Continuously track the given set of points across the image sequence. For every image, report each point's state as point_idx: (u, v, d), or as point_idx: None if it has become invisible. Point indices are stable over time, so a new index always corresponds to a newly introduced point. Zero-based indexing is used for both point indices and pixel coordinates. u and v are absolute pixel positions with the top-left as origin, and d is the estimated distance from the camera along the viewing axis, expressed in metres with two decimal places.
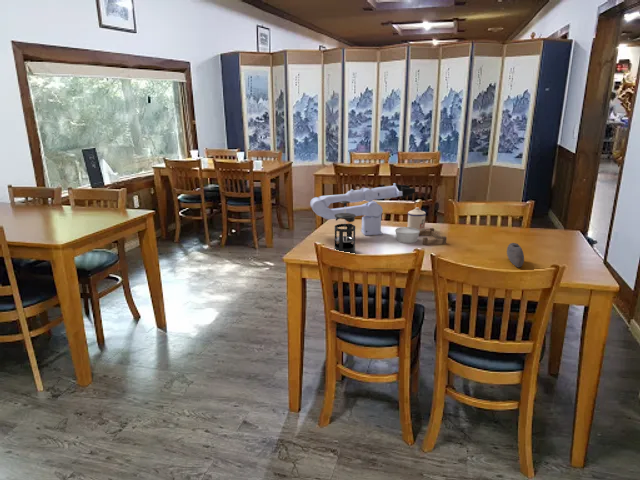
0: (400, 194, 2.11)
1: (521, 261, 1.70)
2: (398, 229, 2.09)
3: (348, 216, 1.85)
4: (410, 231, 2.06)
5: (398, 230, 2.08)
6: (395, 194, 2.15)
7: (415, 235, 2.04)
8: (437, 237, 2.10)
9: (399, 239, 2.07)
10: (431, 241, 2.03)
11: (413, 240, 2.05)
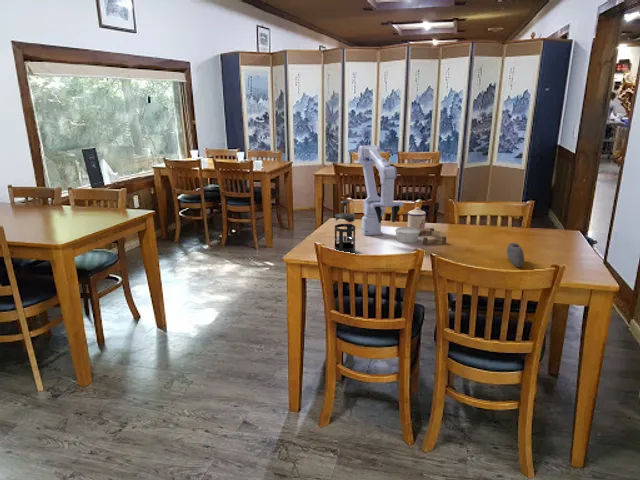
0: (371, 205, 2.03)
1: (521, 261, 1.70)
2: (398, 229, 2.09)
3: (348, 216, 1.85)
4: (410, 231, 2.06)
5: (398, 230, 2.08)
6: (380, 202, 2.04)
7: (415, 235, 2.04)
8: (437, 237, 2.10)
9: (399, 239, 2.07)
10: (431, 241, 2.03)
11: (413, 240, 2.05)
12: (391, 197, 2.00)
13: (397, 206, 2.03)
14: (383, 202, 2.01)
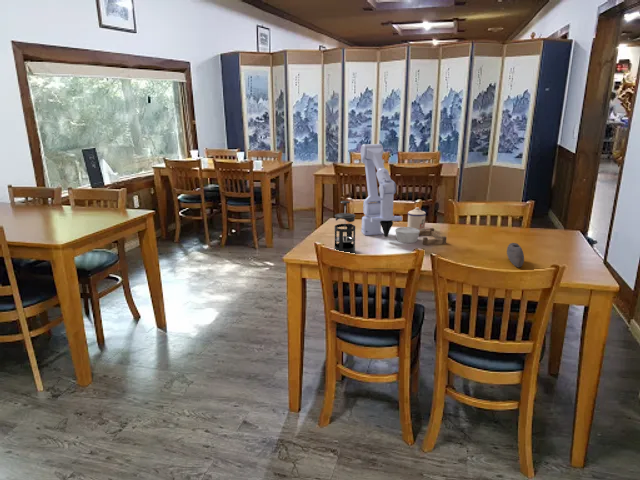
0: (371, 219, 2.04)
1: (521, 261, 1.70)
2: (398, 229, 2.09)
3: (348, 216, 1.85)
4: (410, 231, 2.06)
5: (398, 230, 2.08)
6: (380, 216, 2.05)
7: (415, 235, 2.04)
8: (437, 237, 2.10)
9: (399, 239, 2.07)
10: (431, 241, 2.03)
11: (413, 240, 2.05)
12: (390, 212, 2.02)
13: (396, 220, 2.05)
14: (383, 216, 2.03)
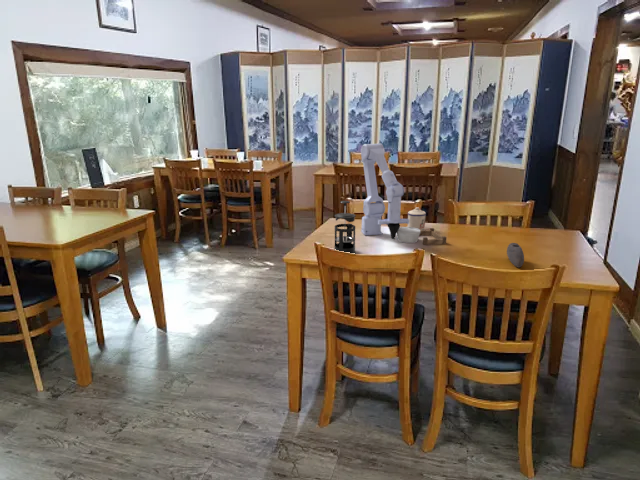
0: (378, 222, 2.05)
1: (521, 261, 1.70)
2: (399, 229, 2.09)
3: (348, 216, 1.85)
4: (411, 231, 2.06)
5: (399, 230, 2.08)
6: (387, 219, 2.06)
7: (416, 235, 2.04)
8: (437, 237, 2.10)
9: (400, 238, 2.07)
10: (431, 241, 2.03)
11: (414, 240, 2.05)
12: (398, 214, 2.03)
13: None
14: (390, 219, 2.04)
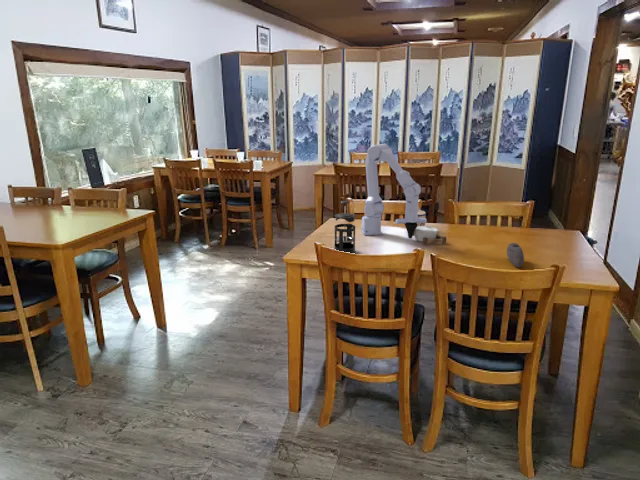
0: None
1: (521, 261, 1.70)
2: (416, 228, 2.10)
3: (348, 216, 1.85)
4: (428, 230, 2.07)
5: (416, 229, 2.09)
6: (404, 218, 2.07)
7: (433, 234, 2.05)
8: (437, 237, 2.10)
9: (417, 238, 2.08)
10: (431, 241, 2.03)
11: None
12: (415, 214, 2.04)
13: (421, 222, 2.07)
14: (407, 218, 2.05)
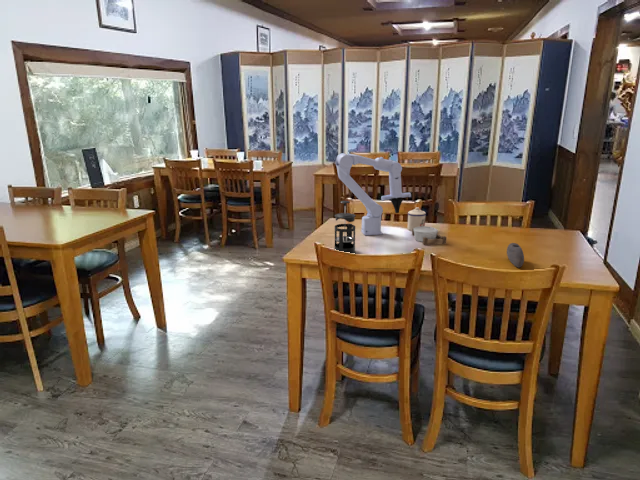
0: (381, 198, 2.19)
1: (521, 261, 1.70)
2: (416, 228, 2.11)
3: (348, 216, 1.85)
4: (428, 230, 2.07)
5: (416, 229, 2.09)
6: (390, 194, 2.19)
7: (433, 234, 2.05)
8: (437, 237, 2.10)
9: (417, 238, 2.08)
10: (431, 241, 2.03)
11: None
12: (399, 189, 2.15)
13: None
14: (392, 194, 2.16)
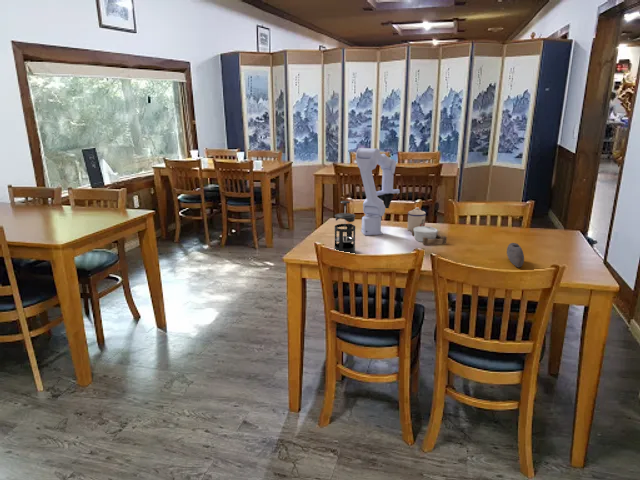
0: None
1: (521, 261, 1.70)
2: (416, 228, 2.11)
3: (348, 216, 1.85)
4: (428, 230, 2.07)
5: (416, 229, 2.09)
6: (381, 190, 2.29)
7: (433, 234, 2.05)
8: (437, 237, 2.10)
9: (417, 238, 2.08)
10: (431, 241, 2.03)
11: None
12: (392, 185, 2.27)
13: None
14: (385, 190, 2.27)
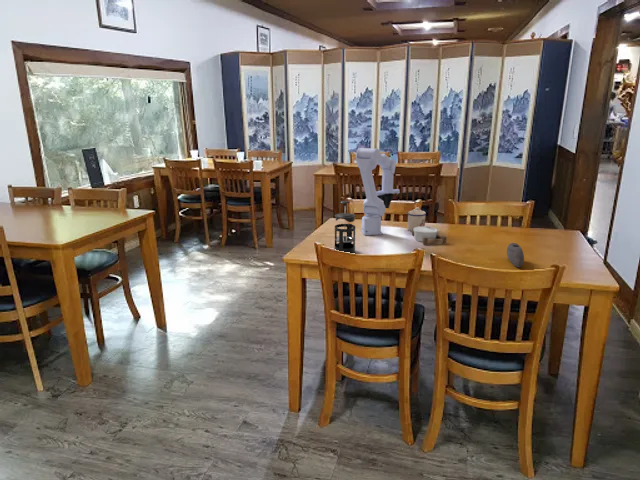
0: None
1: (521, 261, 1.70)
2: (416, 228, 2.11)
3: (348, 216, 1.85)
4: (428, 230, 2.07)
5: (416, 229, 2.09)
6: (381, 190, 2.29)
7: (433, 234, 2.05)
8: (437, 237, 2.10)
9: (417, 238, 2.08)
10: (431, 241, 2.03)
11: None
12: (392, 185, 2.27)
13: None
14: (385, 190, 2.27)
